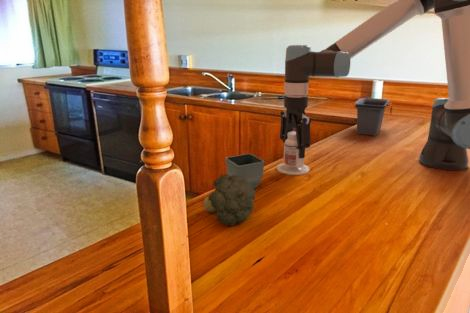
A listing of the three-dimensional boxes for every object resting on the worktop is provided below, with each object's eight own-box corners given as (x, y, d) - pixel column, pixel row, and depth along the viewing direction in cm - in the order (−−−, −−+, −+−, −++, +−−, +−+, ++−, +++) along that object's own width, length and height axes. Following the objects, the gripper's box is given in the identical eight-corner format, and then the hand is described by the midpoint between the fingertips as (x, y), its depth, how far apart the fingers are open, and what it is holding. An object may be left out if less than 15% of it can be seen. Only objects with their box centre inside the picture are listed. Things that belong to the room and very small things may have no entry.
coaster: (316, 171, 125) (316, 169, 124) (288, 177, 120) (288, 175, 120) (296, 162, 134) (296, 160, 134) (270, 167, 129) (270, 165, 129)
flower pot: (238, 195, 107) (238, 166, 104) (225, 185, 114) (224, 157, 111) (264, 189, 110) (265, 161, 108) (250, 180, 118) (250, 153, 115)
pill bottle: (297, 160, 130) (298, 129, 127) (306, 166, 125) (307, 134, 121) (281, 162, 128) (282, 131, 125) (289, 168, 123) (290, 135, 119)
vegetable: (228, 191, 104) (269, 180, 94) (221, 236, 98) (263, 230, 88) (195, 174, 97) (234, 160, 87) (184, 221, 91) (225, 212, 81)
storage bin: (358, 125, 188) (361, 96, 183) (391, 128, 181) (395, 98, 177) (350, 135, 170) (352, 103, 165) (386, 138, 163) (390, 106, 159)
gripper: (325, 98, 113) (320, 170, 120) (288, 90, 129) (286, 154, 136) (305, 100, 109) (301, 174, 116) (269, 92, 125) (268, 157, 133)
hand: (293, 163), depth 126 cm, fingers closed on pill bottle, 6 cm apart
